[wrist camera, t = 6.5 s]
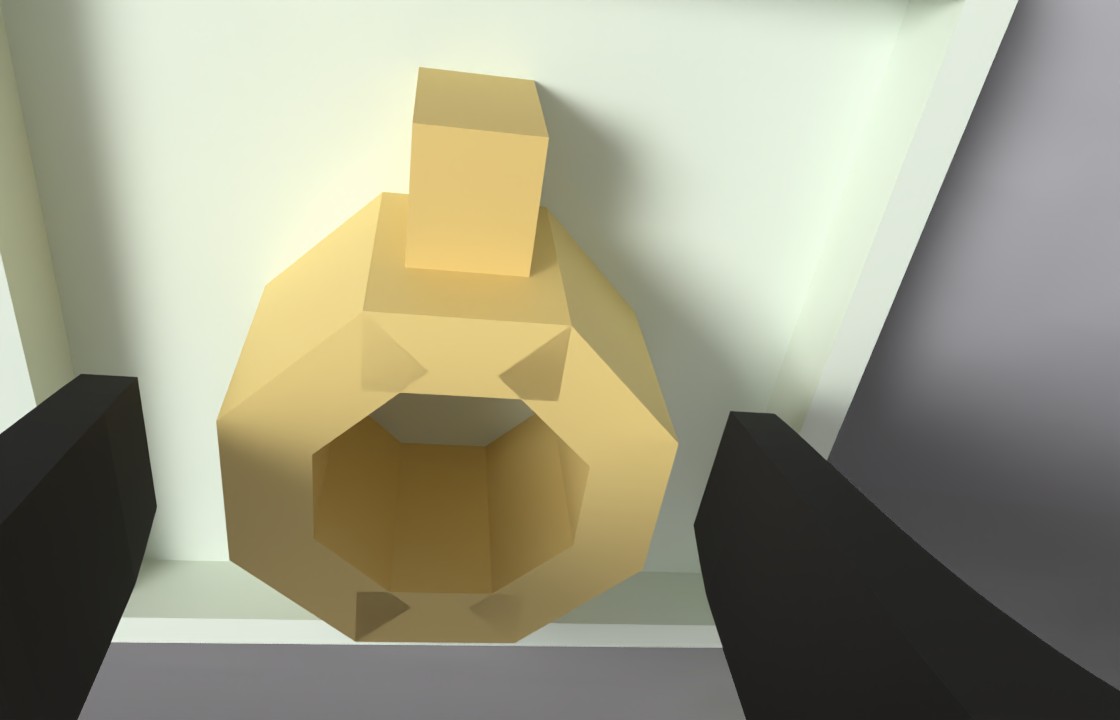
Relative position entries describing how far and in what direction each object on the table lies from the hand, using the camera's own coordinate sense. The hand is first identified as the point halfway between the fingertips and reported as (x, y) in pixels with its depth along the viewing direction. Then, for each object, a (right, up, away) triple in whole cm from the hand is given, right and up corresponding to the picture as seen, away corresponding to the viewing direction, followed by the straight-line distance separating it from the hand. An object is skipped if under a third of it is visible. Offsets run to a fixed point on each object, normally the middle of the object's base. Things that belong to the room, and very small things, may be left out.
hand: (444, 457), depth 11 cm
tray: (0, +2, +2) cm, 3 cm away
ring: (0, +1, +2) cm, 2 cm away
